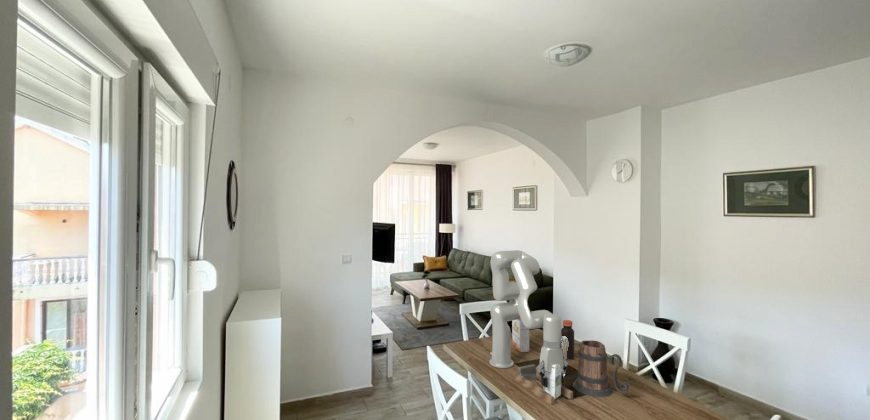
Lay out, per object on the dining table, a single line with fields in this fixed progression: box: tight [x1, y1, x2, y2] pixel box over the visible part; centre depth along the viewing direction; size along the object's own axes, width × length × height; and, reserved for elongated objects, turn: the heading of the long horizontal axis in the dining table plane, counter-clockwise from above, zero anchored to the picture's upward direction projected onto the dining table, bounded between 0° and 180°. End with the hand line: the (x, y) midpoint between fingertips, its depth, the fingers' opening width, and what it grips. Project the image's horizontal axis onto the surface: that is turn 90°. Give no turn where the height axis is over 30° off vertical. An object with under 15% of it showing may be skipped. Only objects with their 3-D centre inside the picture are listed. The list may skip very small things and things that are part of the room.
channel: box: [515, 363, 574, 406], centre depth 163 cm, size 24×12×6 cm, turn 24°
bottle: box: [561, 319, 575, 360], centre depth 199 cm, size 7×7×20 cm
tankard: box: [572, 339, 630, 398], centre depth 162 cm, size 24×17×20 cm
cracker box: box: [511, 318, 530, 353], centre depth 213 cm, size 14×6×21 cm, turn 6°
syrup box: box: [542, 364, 562, 400], centre depth 158 cm, size 6×6×14 cm
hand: (552, 383), depth 158 cm, fingers open, 8 cm apart
